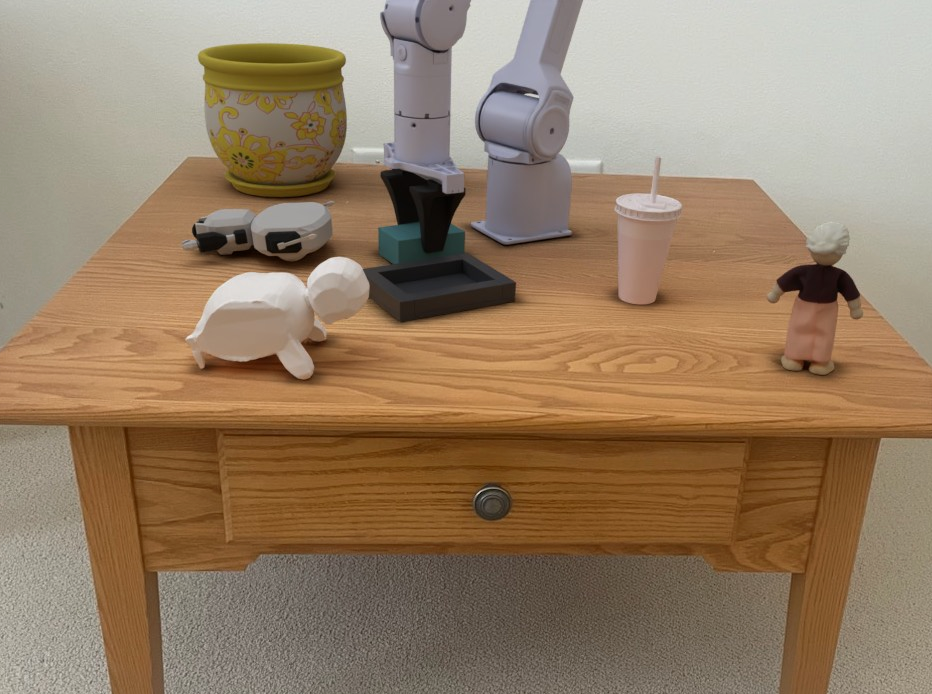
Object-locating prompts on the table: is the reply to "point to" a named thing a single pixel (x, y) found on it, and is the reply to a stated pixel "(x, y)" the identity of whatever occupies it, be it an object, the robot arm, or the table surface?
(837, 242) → the grandmother figurine
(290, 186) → the flowerpot
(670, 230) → the smoothie
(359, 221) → the table surface
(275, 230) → the robot toy
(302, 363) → the white turtle figure
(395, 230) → the teal rectangular block
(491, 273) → the mount
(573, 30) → the robot arm
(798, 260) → the table surface
